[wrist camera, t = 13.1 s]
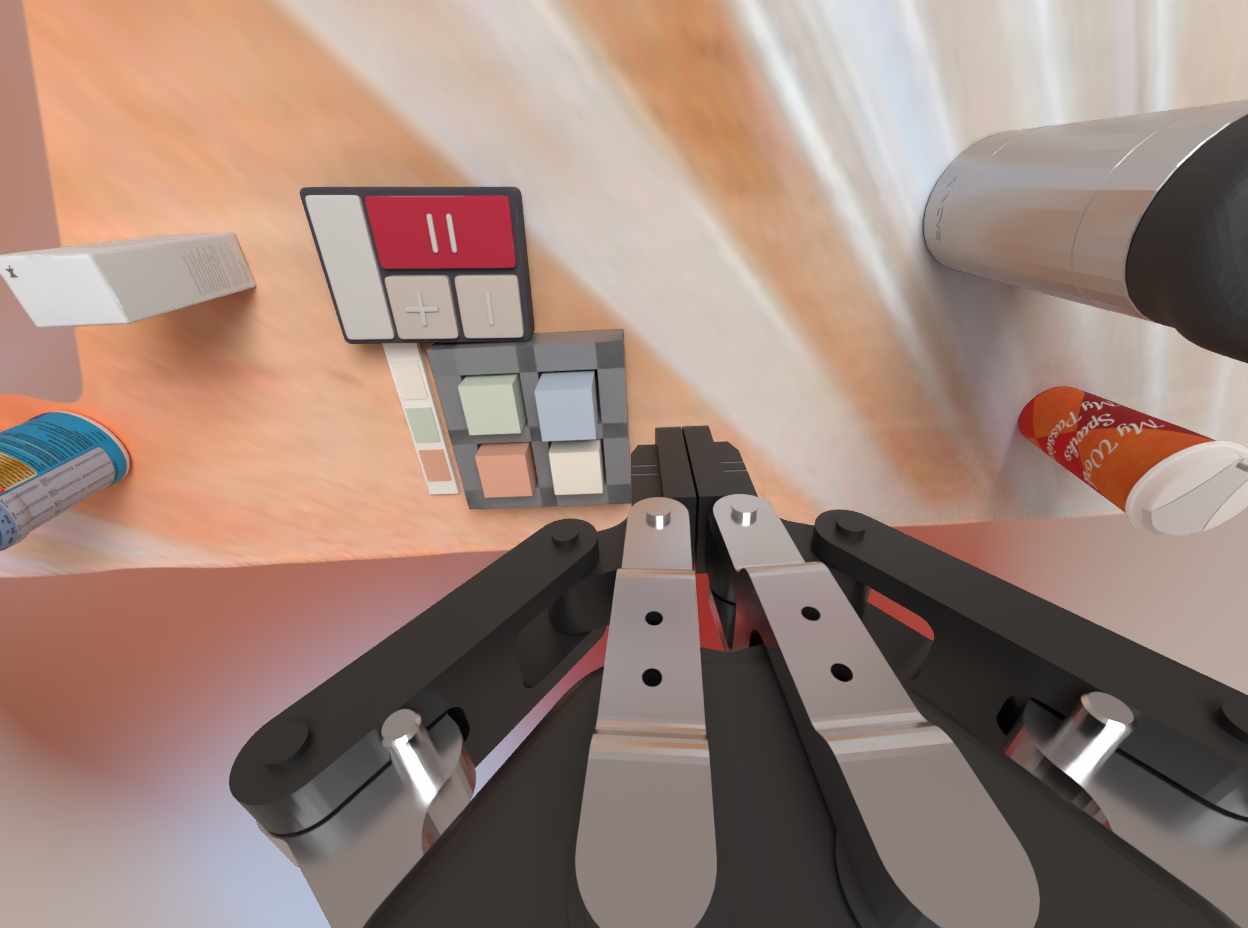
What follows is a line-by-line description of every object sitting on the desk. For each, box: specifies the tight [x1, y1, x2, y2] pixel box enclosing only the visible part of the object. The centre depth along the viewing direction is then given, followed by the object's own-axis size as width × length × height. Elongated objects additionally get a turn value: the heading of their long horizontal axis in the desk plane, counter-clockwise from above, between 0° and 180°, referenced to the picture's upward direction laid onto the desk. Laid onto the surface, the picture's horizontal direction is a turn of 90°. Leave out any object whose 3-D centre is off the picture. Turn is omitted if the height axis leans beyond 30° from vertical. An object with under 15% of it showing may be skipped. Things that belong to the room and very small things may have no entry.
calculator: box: [300, 187, 534, 344], centre depth 37 cm, size 11×4×15 cm
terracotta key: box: [475, 442, 538, 498], centre depth 44 cm, size 4×4×4 cm
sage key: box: [458, 373, 527, 435], centre depth 41 cm, size 4×4×4 cm
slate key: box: [534, 371, 598, 441], centre depth 39 cm, size 4×4×4 cm
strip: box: [382, 343, 460, 494], centre depth 45 cm, size 3×16×1 cm, turn 3°
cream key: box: [549, 439, 604, 495], centre depth 44 cm, size 4×4×4 cm
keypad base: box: [426, 329, 631, 509], centre depth 43 cm, size 16×16×4 cm
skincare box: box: [0, 233, 256, 328], centre depth 33 cm, size 6×4×12 cm
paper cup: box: [1019, 387, 1248, 535], centre depth 39 cm, size 8×8×14 cm
